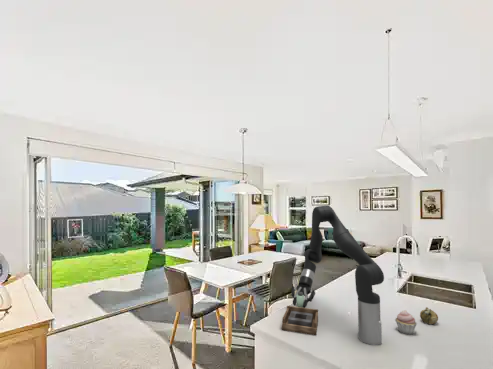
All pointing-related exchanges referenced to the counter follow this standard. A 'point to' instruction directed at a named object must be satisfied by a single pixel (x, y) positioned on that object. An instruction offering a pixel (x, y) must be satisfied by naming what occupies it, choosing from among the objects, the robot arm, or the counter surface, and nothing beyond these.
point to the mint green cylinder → (300, 299)
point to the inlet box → (300, 320)
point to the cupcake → (405, 322)
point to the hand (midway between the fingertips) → (298, 306)
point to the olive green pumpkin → (429, 316)
